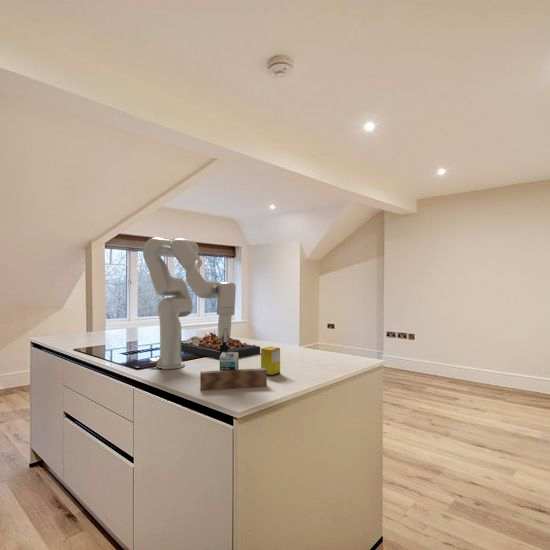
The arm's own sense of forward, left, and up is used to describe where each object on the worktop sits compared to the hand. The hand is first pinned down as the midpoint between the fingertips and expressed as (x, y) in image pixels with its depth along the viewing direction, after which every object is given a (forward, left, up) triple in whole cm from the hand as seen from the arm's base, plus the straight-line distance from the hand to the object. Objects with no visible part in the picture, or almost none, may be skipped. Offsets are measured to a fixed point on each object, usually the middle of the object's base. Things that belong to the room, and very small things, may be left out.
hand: (223, 354), depth 156 cm
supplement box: (+19, -7, -8) cm, 22 cm away
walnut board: (+2, -23, -8) cm, 24 cm away
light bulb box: (+1, -15, -8) cm, 17 cm away
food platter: (0, +51, -9) cm, 51 cm away
